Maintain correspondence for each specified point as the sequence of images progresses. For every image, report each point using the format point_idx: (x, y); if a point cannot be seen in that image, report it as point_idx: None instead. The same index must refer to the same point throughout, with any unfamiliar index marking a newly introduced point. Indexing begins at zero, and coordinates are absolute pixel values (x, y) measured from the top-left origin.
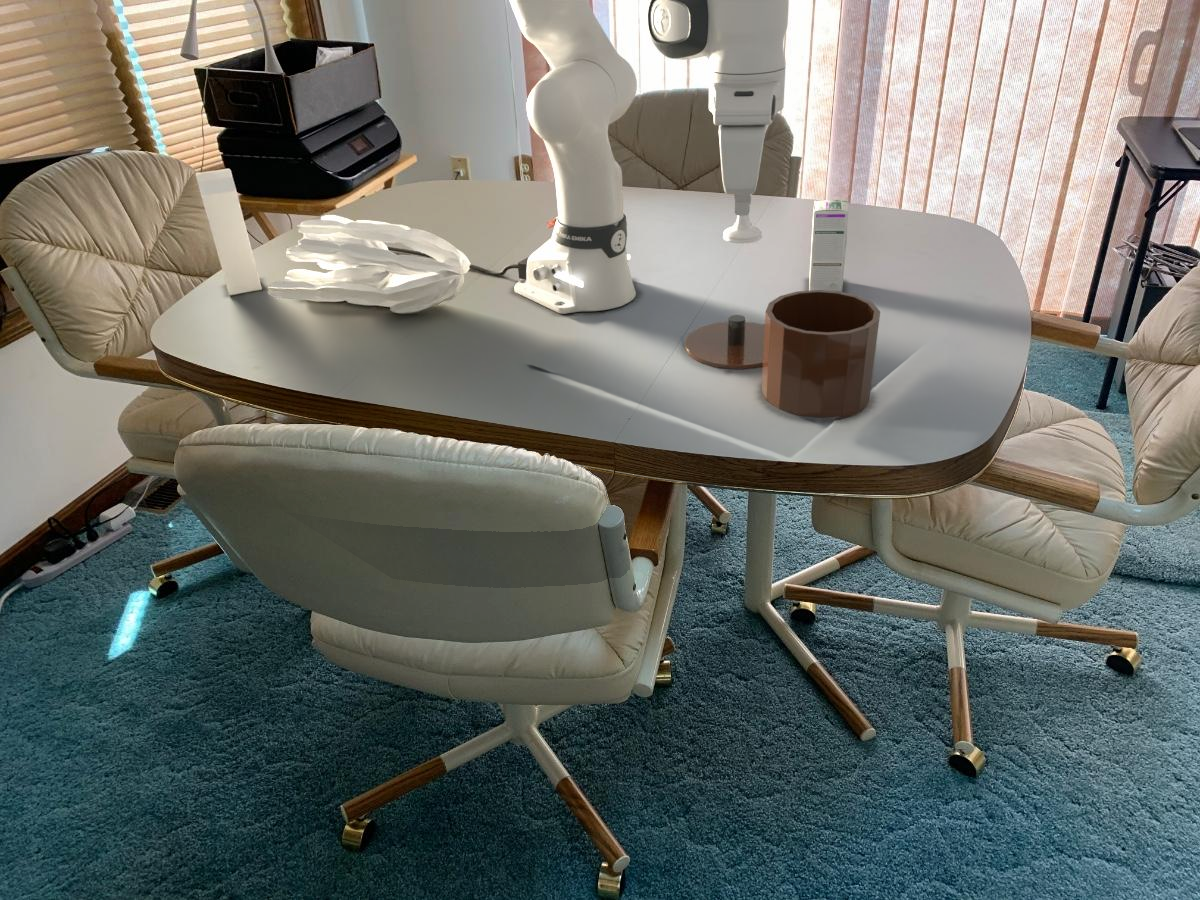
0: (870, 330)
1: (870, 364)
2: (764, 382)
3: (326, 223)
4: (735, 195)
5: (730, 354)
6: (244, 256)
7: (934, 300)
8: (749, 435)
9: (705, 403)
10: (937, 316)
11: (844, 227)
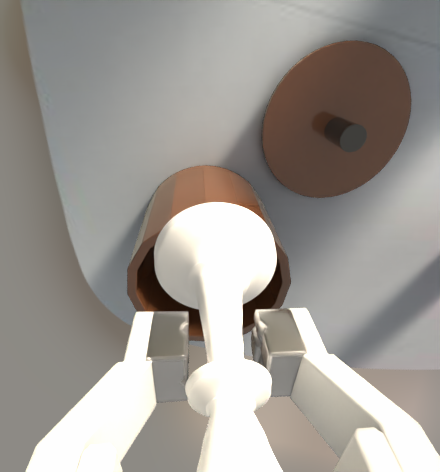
0: None
1: None
2: (189, 175)
3: None
4: (80, 405)
5: (297, 122)
6: None
7: (406, 322)
8: (98, 152)
9: (169, 89)
10: (370, 321)
11: None
